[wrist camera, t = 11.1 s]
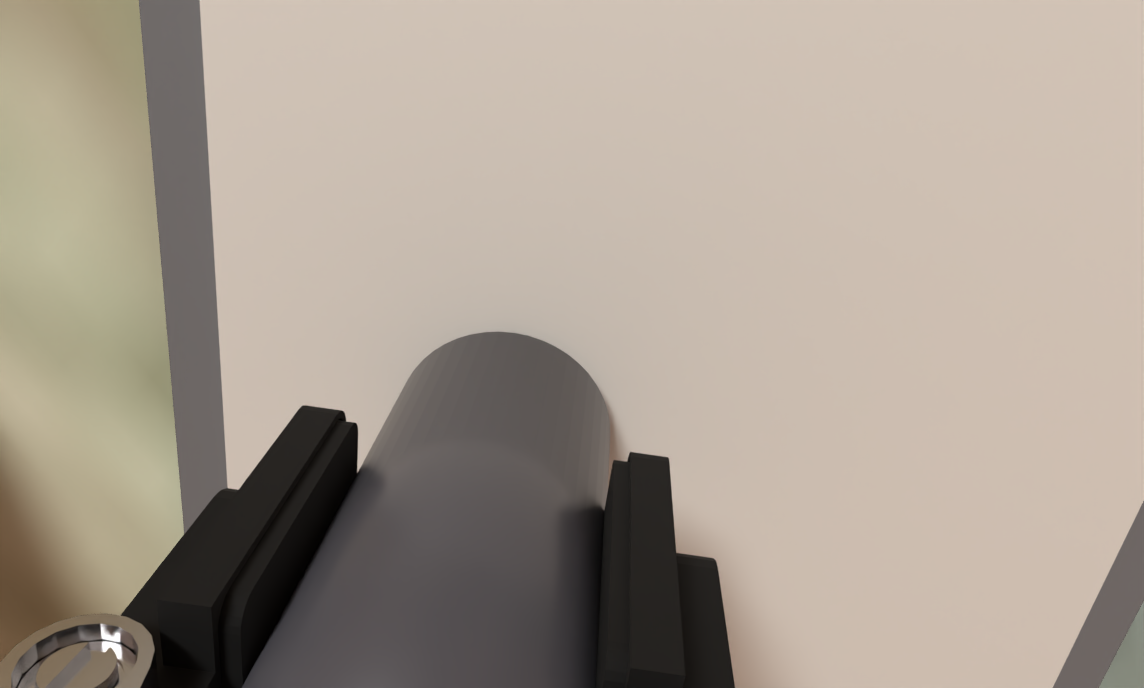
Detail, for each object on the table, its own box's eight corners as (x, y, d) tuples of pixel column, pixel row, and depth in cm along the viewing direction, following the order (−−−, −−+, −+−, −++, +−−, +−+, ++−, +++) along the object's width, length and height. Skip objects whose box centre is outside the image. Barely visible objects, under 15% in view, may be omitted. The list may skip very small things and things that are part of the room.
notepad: (1829, -861, 9) (1970, -958, 8) (1022, 770, 19) (1042, 812, 18) (88, -1079, 9) (24, -1200, 8) (214, 656, 19) (192, 691, 18)
